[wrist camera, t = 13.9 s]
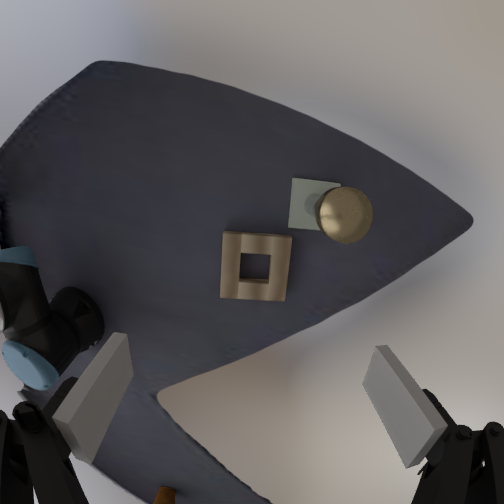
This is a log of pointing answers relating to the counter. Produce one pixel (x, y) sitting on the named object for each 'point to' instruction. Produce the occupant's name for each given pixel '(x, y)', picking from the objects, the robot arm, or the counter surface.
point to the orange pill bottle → (165, 496)
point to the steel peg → (341, 213)
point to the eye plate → (255, 244)
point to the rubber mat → (298, 197)
